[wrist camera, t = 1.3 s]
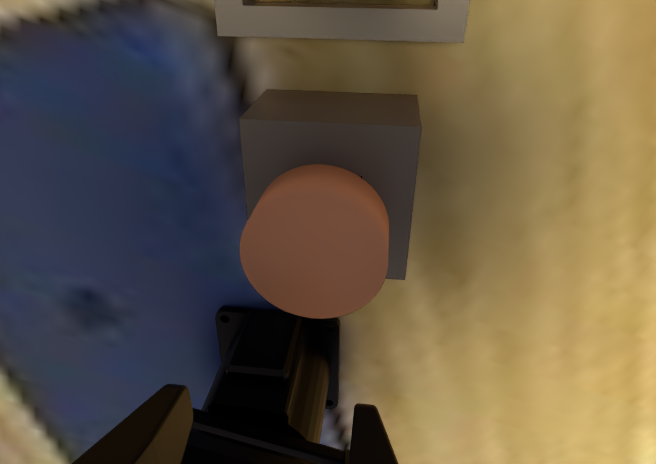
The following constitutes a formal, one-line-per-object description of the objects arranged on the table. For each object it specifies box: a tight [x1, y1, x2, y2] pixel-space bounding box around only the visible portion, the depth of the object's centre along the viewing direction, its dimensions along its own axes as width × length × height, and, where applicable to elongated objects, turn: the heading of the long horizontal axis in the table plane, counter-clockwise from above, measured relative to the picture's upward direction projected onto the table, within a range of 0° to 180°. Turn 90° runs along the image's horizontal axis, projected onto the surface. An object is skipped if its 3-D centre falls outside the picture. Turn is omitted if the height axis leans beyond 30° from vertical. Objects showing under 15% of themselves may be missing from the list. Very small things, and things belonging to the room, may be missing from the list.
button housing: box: [239, 90, 421, 280], centre depth 19 cm, size 6×6×4 cm
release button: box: [240, 164, 389, 319], centre depth 16 cm, size 4×4×5 cm
